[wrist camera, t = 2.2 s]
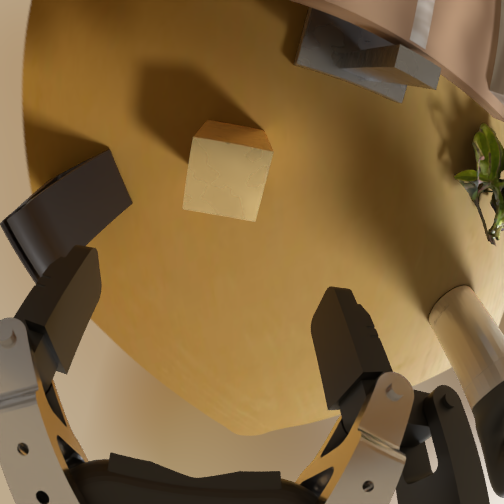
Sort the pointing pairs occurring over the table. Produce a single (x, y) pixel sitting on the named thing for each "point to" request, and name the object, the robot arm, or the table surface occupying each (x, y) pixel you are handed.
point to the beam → (439, 38)
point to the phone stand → (66, 212)
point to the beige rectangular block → (227, 170)
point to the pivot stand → (362, 57)
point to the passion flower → (487, 177)
